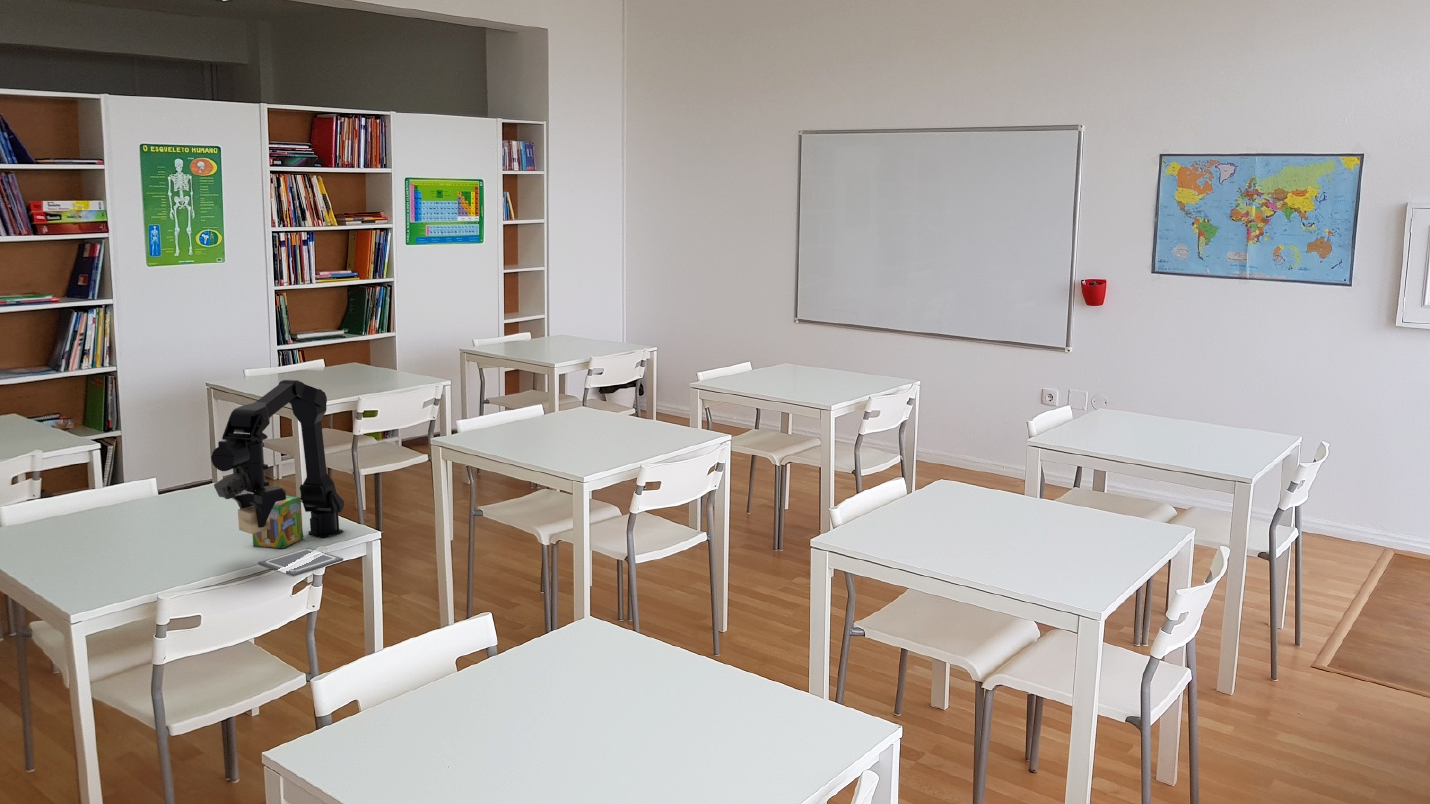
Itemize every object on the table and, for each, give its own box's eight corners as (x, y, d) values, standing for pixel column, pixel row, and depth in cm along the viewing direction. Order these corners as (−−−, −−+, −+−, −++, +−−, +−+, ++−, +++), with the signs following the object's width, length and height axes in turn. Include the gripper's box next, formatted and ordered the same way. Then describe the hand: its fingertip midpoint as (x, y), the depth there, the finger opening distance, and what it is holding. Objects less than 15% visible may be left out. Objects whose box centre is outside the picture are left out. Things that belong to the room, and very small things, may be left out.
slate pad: (308, 549, 280) (308, 547, 280) (343, 560, 272) (343, 557, 272) (258, 564, 269) (258, 561, 269) (293, 576, 261) (293, 573, 261)
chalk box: (283, 549, 280) (279, 493, 277) (251, 546, 282) (247, 490, 279) (305, 538, 289) (301, 483, 286) (274, 535, 291) (270, 481, 288)
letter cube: (258, 525, 267) (257, 504, 266) (270, 529, 264) (269, 508, 263) (239, 530, 263) (237, 509, 262) (251, 534, 260) (249, 512, 259)
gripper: (196, 461, 259) (201, 525, 262) (241, 474, 248) (245, 540, 251) (240, 453, 268) (245, 515, 271) (285, 464, 257) (289, 529, 260)
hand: (255, 525), depth 263 cm, fingers closed on letter cube, 5 cm apart
